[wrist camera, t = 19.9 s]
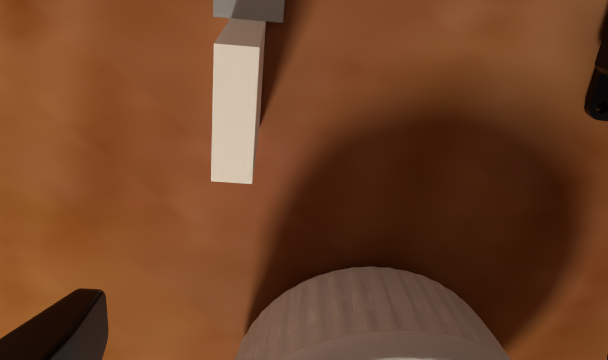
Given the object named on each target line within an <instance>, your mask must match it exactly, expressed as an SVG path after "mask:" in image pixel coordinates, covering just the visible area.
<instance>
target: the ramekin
mask: <svg viewBox="0 0 608 360" xmlns="http://www.w3.org/2000/svg"><path fill="white" fill-rule="evenodd" d="M235 360H511V359H510V358H509V356H508V355H507V353H506V352H505V350H504V349H503V348H502V346H501V345H500V343H499V342H498V341H497V339H496V338H495V337H494V335H493V334H492V333H491V331H490V330H489V329H488V328H487V326H486V325H485V324H484V323H483V321H482V320H481V319H480V318H479V316H478V315H477V314H476V313H475V312H474V311H473V310H472V308H471V307H470V306H469V305H468V304H467V303H466V302H465V301H464V300H462V299H461V298H459V297H458V296H457V294H455V293H454V292H453V291H451V290H449V289H447V288H445V287H444V286H443V285H442V284H440V283H439V282H436V281H434V280H431V279H429V278H427V277H425V276H423V275H419V274H414V273H412V272H409V271H406V270H398V269H393V268H390V267H381V268H379V267H372V266H370V267H352V268H348V269H342V270H335V271H332V272H329V273H326V274H322V275H318V276H316V277H313V278H311V279H309V280H306V281H304V282H301V283H300V284H298V285H297V286H295V287H293V288H291V289H289V290H287V291H285V292H284V293H283V294H282V295H281V296H279V297H278V298H276V299H275V300H274V301H272V302H271V304H270V305H269V306H268V307H266V308H265V309H264V310H263V311H262V312H261V313H260V315H259V316H258V318H257V319H256V320H255V321H254V322H253V323H252V324H251V326H250V327H249V330H248V332H247V333H246V335H245V336H244V338H243V340H242V342H241V344H240V347H239V350H238V353H237V355H236V357H235Z"/></svg>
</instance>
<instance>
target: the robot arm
mask: <svg viewBox="0 0 608 360" xmlns="http://www.w3.org/2000/svg"><path fill="white" fill-rule="evenodd" d="M595 66H596V70H595V73H594V76H593V79H592V82H591V85H590V88H589V92H588V95H587V98H586V101H585V105H584V109H585V112H586V114H588V115H589V116H590V117H592V118H594V119H596V120H601V121H608V23H607V27H606V30H605V33H604V36H603V39H602V42H601V45H600V48H599V52H598V55H597V58H596V61H595ZM602 101H604V106H603V107H602V108H601V109H600V110H598V111H596V107H597V105H598V104H599V103H600V102H602ZM107 339H108V318H107V305H106V296H105V293H104V292H103V291H102V290H100V289H83V288H82V289H77V290H75V291H73V292H72V293H70V294H69V295H67V296H66V297H64V298H63V299H61V300H59V301H58V302H56V303H55V304H53V305H52V306H50V307H49V308H47V309H46V310H44V311H42V312H41V313H39V314H38V315H36V316H35V317H33V318H32V319H30V320H29V321H27V322H25V323H24V324H22V325H21V326H19V327H18V328H16V329H15V330H13V331H12V332H10V333H8V334H7V335H5V336H4V337H2V338H1V339H0V360H102V358H103V354H104V351H105V347H106V344H107ZM607 360H608V355H607Z"/></svg>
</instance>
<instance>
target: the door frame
mask: <svg viewBox="0 0 608 360" xmlns="http://www.w3.org/2000/svg"><path fill="white" fill-rule="evenodd" d="M284 3H285V0H213V17H223V18H231V19H230V20H229V22H228V23H227V25H226V26H225V28H224V29H223V31H222V32H221V34H220V35H219V37H218V38H217V40H216V41H215V43H214V67H213V113H212V160H211V181H217V182H231V183H245V184H252V180H253V172H254V165H255V158H256V150H257V143H258V135H259V128H260V111H261V95H262V78H263V61H264V45H265V28H266V21H268V22H279V23H283V17H284Z"/></svg>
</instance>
